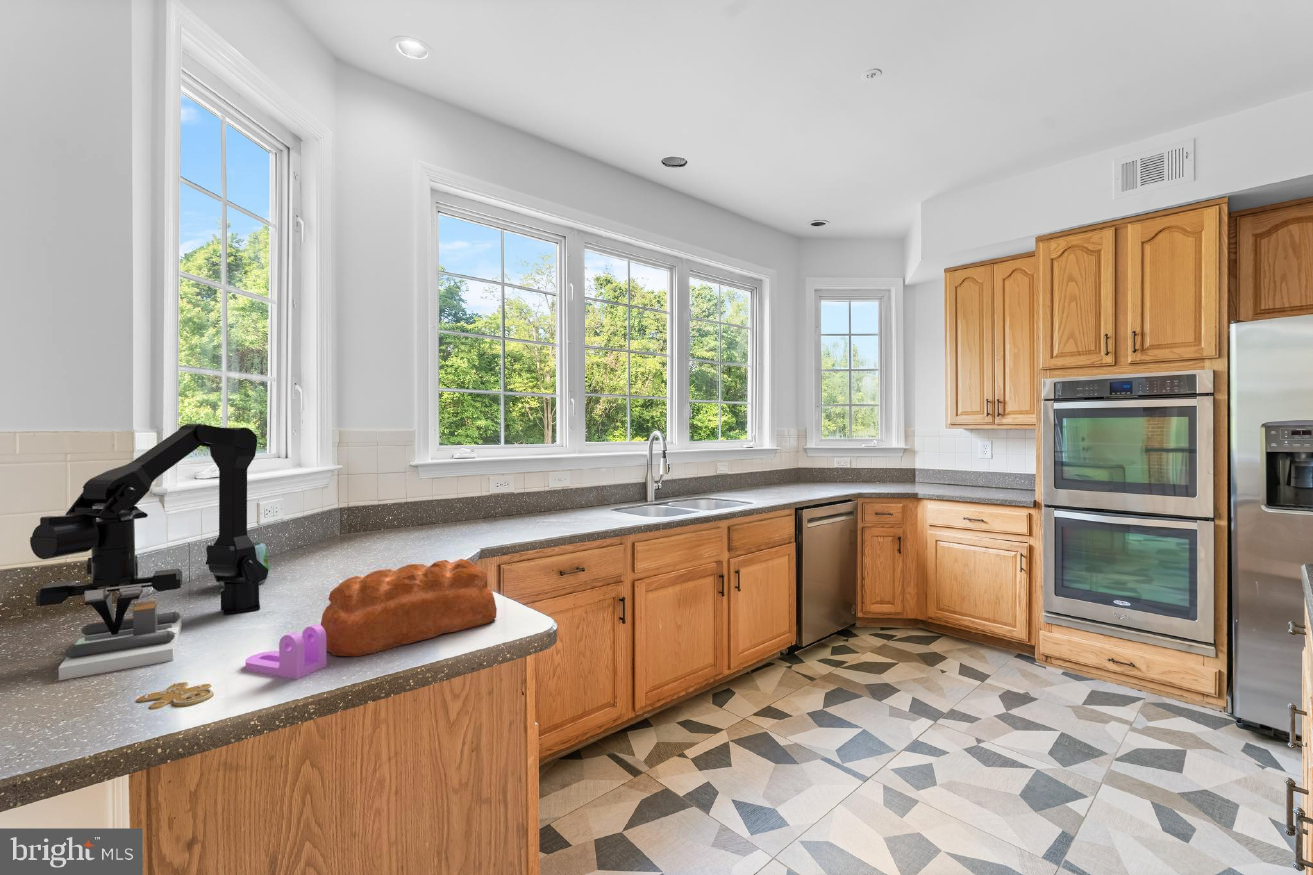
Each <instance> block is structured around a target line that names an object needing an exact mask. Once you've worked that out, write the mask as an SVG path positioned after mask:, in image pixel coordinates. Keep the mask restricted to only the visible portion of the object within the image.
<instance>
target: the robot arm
mask: <svg viewBox="0 0 1313 875" xmlns="http://www.w3.org/2000/svg"><path fill="white" fill-rule="evenodd" d="M257 445H258V436H257V433H255V432H254V431H253V430H252V429H250V428H249V427H221V426H220V427H219V426H213V425H209V424H206V423H186V424H183V425H181V426H180V427H179V428H178V430H176V431H175V432H173V433H172V434H171V435H169V436H168V437H166V438H165V439H163V440H162V441H161V442H158V443H157V444H156V445H154V446H153V447H151V448H150V449H149V450H147V451H146V452H144V453H142V454H141V455H140V456H138V457H137V458H135V459H133V461H131V462H129V463H127V464H125V465H121V466H119V467H116V468H112V469H109V470H106V471H104V472H102V473H100V474H98V475H96V476H94V477H92V478H90V479H88V480H87V481H86V482H85V483H84V484H83V486H82V492H81V494H80V495H79V496H78V497H77V498H76V500H75V501H74V502H73V504H72V506H70V508H69V509H68V510H67V511H66V513H65V514H64V515H58V516H54V515H49V516H46V515H45V516H41V517H39V525H37V526H36V527H35V528H34V530H33V532H32V535H31V537H29V543H30V549H31V551H32V553H33V554H34V555H35V556H36V557H37V558H38V559H41V560H49V559H56V558H61V557H66V556H72V555H77V554H82V553H87V552H89V551H91V557H87V561H86V562H87V563H86V576H89V577H91V582H90V583H81V584H77V583H76V580H75V579H71V580H59V581H52V582H47V583H46V584H44V585H43V586H42V587H41V588H40V589H38V591H36V593H35V594H36V595H35V606H36V607H43V606H46V607H47V606H53V605H61V604H63V603H64V602H65V601H66V600H67V599H69V597H79V596H84V598H85V601H83V606H91V607H92V608H93V609H94V610H95V611H96V612H97V613H98V614H99V616H100V617H101V618H102V621H103V622H105V624H106V625H107V627H108V629H109V631H110V632H111V634H112V635H117V634H118V633H119V630H120V628H121V625H122V622H123V619H125V616H126V613H127V610H129V609H128V608H129V607H130V605H131V603H132V601H133V600H137V599H140V598H141V597H142V594H143V591H144V588H151V587H152V589H153V590H156V591H157V592H164V591H165V592H167V591H173V590H174V591H175V590H179V589H181V588H182V585H183V582H184V581H183V571H182V570H181V569H179V568H172V569H162V570H155V571H154V573H153V574H152V575H151V576H144V577H138V576H139V561H138V559H137V557H136V538H135V537H136V534H135V533H136V532H135V527H136V526H135V520H139V519H146V518H147V517H148V516H149V514H148V513H146V512H145V511H143V510H141V509H140V508H138V506H137V504H138V503H139V502H140V501H141V500H142V499H143V498H144V496H145V497H146V495H147V494H148V493H149V491H150V489H151V487H152V485H153V482H155V480H157V479H158V478H159V477H160V476H161V475H163V474H164V473H166V472H167V471H168V470H169V469H171V468H173V467H174V466H175V465H176V464H178V463H179V462H180V461H182V460H183V459H185V458H186V457H187V456H189V455H190V454H191V453H193V452H194V451H196V450H197V449H198V448H200V447H203V448H204V447H205V448H209V451H210V452H209V454H210V457H211V459H212V460H213V462H214V463H215V466H217V468H218V481H219V482H218V513H219V514H218V536H217V539H216V540H215V542H214V543H213V544H211V545H210V544H209V545H208V544H207V546H206V548H205V550H206V562H205V565H207V566H208V570H209V572H210V573H212V574H213V576H214V579H215V582H216V583H218V582H224V587H223V588H221V589H220V611H223V615H230V614H237V613H244V612H251V611H252V612H253V611H258V610H261V604H260V584H259V582H261V581H262V580H265V579H266V578H267V575H268V571H269V570H268V569H267V568H266V567H265V566H264V565H263V564H261V563H260V562H259V561H258V560H257V556H256V550H255V546H254V544H253V543H252V542H253V541H252V540H251V538H250V537H249V535H248V468H249V467H250V465H251V463H252V461H253V460H254V458H255V457H256V452H257V448H258V446H257ZM269 572H270V571H269ZM267 579H268V578H267ZM267 579H266V580H267ZM266 580H265V581H266ZM113 592H119V593H120V594H119V595H118V597H117V599H116V607H115V609H114V605H113ZM114 610H115V612H114Z"/></svg>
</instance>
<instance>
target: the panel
mask: <svg viewBox="0 0 1313 875" xmlns="http://www.w3.org/2000/svg"><path fill="white" fill-rule="evenodd" d="M157 615H158V630H157V632H156V633H149V634H143V635H136V636H133V617H129V618H124V619H123V622H122V625H121V628H120V630H119V633H118V634H117V635H112V634H111V632H110V631H109V629H108V627H107V625H106V624H105V622H104V621H100V622H93V623H88V624H85V625H83V626H82V628H81V634H82V635H81V636H80V638H79V639H78V640H77V642H75V643H74V644H73V645H70V646H68V647H67V648H66V649H65V651H64V655H65V658H64V660H63V661H62V663H60V665H59V666H58V681H63V680H68V679H69V680H70V679H75V678H81V677H86V676H92V675H93V676H94V675H99V674H104V673H110V672H116V671H120V670H127V669H131V668H137V667H143V666H149V665H154V664H155V665H156V664H161V663H165V662H172V661H174V659H175V655H176V651H177V647H178V642H179V638H180V636H181V635H180V634H181V630H182V627H183V616H182V615H180V613H179V612H177V611H172V612H171V611H170V612H165V613H157Z"/></svg>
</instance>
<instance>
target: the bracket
mask: <svg viewBox="0 0 1313 875" xmlns="http://www.w3.org/2000/svg"><path fill="white" fill-rule="evenodd" d="M325 667H327V651H326V632H325V630H324V628H323V627H322V626H321V624H319V623H318V624H317V623H316V624H312V625H309V626H307V627H305V628H304V629H303V631H302V633H301V634H300V633H299V632H297V631H295V632H290V633H288V634H285V635H283V636H282V637H281V638H280V639H279V643H278V650H267V651H264V652H259V653H256V654H253V655H250V656H248V657H247V658H246V659H245V670H246V671H248V670H249V672H254V673H260V674H265V675H271V676H275V677H276V676H277V677H281V678H288V679H294V680H299V679H302V678H303V677H306V676H307V675H310V674H312V673H313V672H316V671H319V670H321V669H323V668H325Z"/></svg>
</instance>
